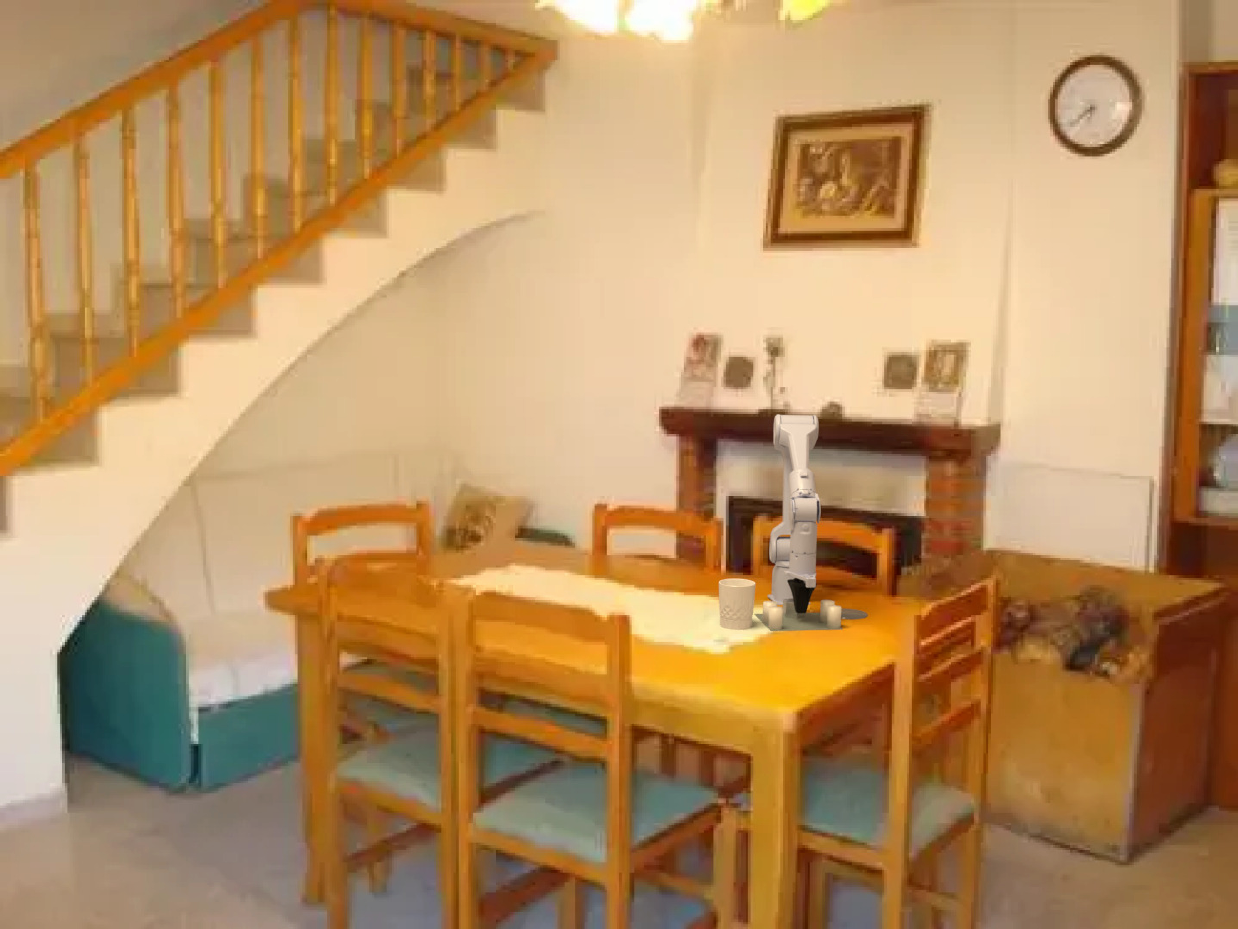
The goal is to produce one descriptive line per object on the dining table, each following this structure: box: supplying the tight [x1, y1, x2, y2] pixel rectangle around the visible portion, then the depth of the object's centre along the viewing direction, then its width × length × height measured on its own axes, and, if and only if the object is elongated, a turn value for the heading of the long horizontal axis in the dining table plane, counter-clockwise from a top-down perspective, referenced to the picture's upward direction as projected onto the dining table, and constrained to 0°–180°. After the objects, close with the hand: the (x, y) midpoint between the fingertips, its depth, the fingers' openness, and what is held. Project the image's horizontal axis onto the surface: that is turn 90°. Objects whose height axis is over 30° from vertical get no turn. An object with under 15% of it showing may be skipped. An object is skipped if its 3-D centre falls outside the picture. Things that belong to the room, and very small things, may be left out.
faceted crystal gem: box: [782, 598, 805, 619], centre depth 315 cm, size 5×4×4 cm
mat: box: [753, 612, 844, 632], centre depth 310 cm, size 15×16×1 cm
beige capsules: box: [762, 599, 842, 630], centre depth 307 cm, size 8×16×4 cm, turn 98°
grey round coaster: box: [841, 608, 868, 620], centre depth 317 cm, size 9×9×1 cm
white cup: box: [718, 578, 756, 631], centre depth 305 cm, size 8×8×10 cm
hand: (800, 612), depth 309 cm, fingers closed
